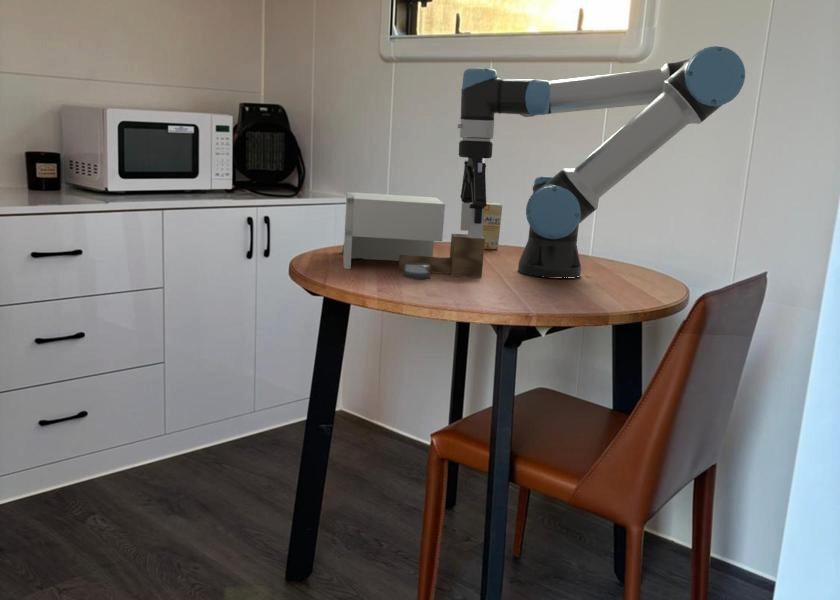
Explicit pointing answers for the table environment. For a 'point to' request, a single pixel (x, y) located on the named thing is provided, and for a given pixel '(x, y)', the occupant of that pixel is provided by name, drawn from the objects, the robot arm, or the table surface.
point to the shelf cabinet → (391, 226)
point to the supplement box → (491, 225)
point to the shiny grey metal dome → (416, 270)
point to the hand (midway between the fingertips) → (471, 234)
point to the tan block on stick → (455, 257)
